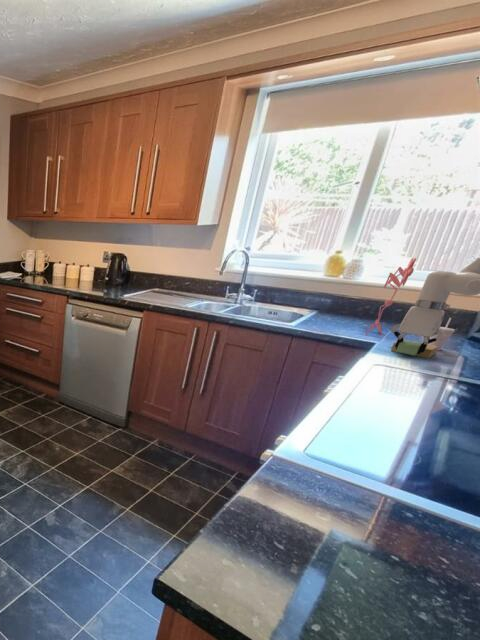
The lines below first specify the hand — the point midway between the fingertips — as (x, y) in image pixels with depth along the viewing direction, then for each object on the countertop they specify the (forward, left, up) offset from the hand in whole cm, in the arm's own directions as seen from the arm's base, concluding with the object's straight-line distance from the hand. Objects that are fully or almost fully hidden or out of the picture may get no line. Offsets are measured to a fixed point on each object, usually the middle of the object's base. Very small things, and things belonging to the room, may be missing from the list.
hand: (408, 350), depth 165 cm
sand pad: (0, -10, -2) cm, 10 cm away
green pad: (0, -1, 0) cm, 1 cm away
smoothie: (-4, -23, -2) cm, 23 cm away
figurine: (+15, -40, -2) cm, 43 cm away
